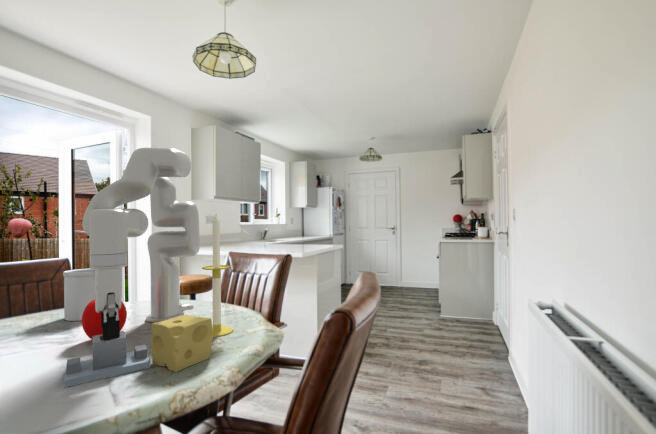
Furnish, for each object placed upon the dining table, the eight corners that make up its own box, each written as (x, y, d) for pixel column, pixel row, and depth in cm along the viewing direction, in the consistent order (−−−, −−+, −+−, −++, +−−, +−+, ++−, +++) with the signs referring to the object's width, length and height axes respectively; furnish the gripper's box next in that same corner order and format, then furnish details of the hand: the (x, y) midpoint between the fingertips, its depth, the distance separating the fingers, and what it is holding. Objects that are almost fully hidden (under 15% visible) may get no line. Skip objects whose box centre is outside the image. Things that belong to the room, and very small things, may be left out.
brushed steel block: (92, 361, 80) (92, 335, 80) (123, 354, 83) (123, 330, 84) (92, 370, 75) (92, 343, 75) (126, 363, 78) (126, 337, 78)
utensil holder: (87, 310, 135) (87, 267, 136) (120, 311, 133) (120, 267, 134) (52, 321, 121) (52, 272, 121) (89, 322, 118) (89, 272, 119)
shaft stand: (144, 354, 87) (144, 327, 88) (150, 367, 79) (150, 337, 80) (66, 370, 78) (66, 340, 78) (64, 387, 70) (64, 353, 70)
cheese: (175, 373, 76) (175, 329, 76) (149, 363, 82) (148, 322, 82) (213, 357, 85) (213, 317, 85) (186, 349, 91) (186, 312, 91)
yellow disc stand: (200, 339, 99) (199, 212, 100) (199, 329, 108) (198, 213, 109) (235, 334, 103) (233, 212, 103) (231, 325, 112) (230, 213, 113)
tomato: (72, 343, 97) (72, 298, 97) (109, 332, 107) (109, 291, 107) (99, 348, 93) (99, 301, 93) (134, 335, 103) (134, 293, 103)
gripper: (89, 258, 84) (90, 326, 85) (89, 266, 70) (91, 348, 70) (124, 256, 89) (125, 320, 89) (131, 263, 75) (132, 340, 75)
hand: (110, 332), depth 80 cm, fingers open, 9 cm apart
